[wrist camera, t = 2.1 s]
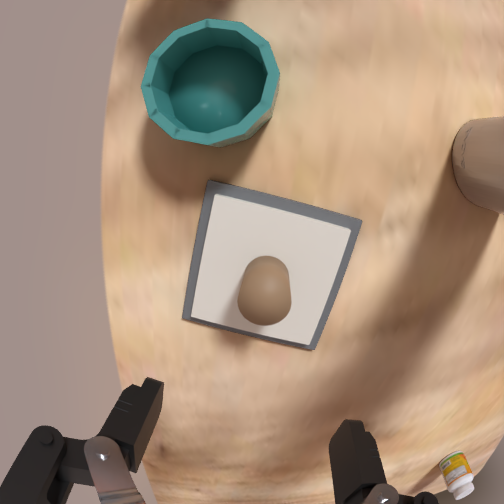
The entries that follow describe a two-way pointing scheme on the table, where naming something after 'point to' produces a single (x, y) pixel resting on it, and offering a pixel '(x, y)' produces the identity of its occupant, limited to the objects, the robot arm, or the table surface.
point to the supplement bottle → (457, 474)
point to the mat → (277, 203)
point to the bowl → (211, 83)
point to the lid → (267, 269)
